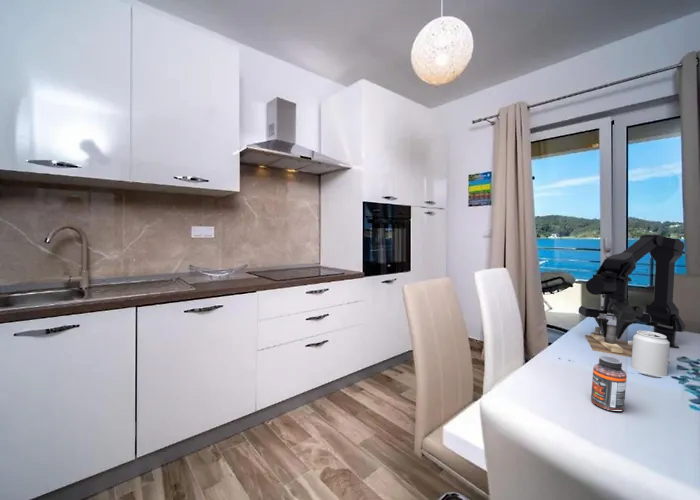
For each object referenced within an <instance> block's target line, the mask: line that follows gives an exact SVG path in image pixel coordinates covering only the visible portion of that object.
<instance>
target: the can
mask: <svg viewBox="0 0 700 500" xmlns="http://www.w3.org/2000/svg"><path fill="white" fill-rule="evenodd" d="M666 338H667V337H666V336H665V335H662V334H659V333H655V332H654V331H648V330H637V331H636V333H635V334H633V337H632V340H633V347H632V357H631V362H630V366H631V369H633V370H636V371H638V374H639V375H641V376H645V377H647V378H653V379H662V378H663V377H666V376H668V370H669V368H668V367H669V364H668V361H669V359H670V358H669V357H670V347H669V345H670V343H669V341H668V340H667V339H666Z"/></svg>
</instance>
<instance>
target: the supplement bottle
mask: <svg viewBox="0 0 700 500" xmlns="http://www.w3.org/2000/svg"><path fill="white" fill-rule="evenodd" d="M622 367H623V362H622V361H621V360H620V359H619V358H616V357H612V356H608V355H607V356H606V355H602V356H601V355H600V356H599V358H598V363H597V364H594V366H593V369H592V380H591V381H592V383H591V393H590V400H591V402H592V403H593V404H594V405H595V404H596V405H597V406H596V405H595V406H596V407H598V406H600V407H602V408H605V409H609V410H623V409H624V410H625V402H626V401H625V400H626V388H627V377H628V376H627V373H626V371H625V370H623V368H622ZM600 407H599V408H600ZM602 408H601V409H602ZM624 410H623V411H624Z"/></svg>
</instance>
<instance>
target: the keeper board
mask: <svg viewBox="0 0 700 500" xmlns="http://www.w3.org/2000/svg"><path fill="white" fill-rule="evenodd" d="M584 336H585V338H586V340H587V342H588V344H589V347H590V348H591V350H592V351H594V352H599V353H600V352H601V353H604V354H605V353H606V354H611V355H616V356H623V357H628V358H632V347H633V339H632V340H628V341H626V340H621V339H616V344H617V345H618V346H620V347H621V348H623V353H617V352H611V351H610V350H609V349H607V348H606V347H605V346H603V345H602V344H601V343H600V342H598V341H597V340H596V339H594V338H592V337H591V335H589V334H584ZM671 364H672V363H671V362H670V361H669V360H668V365H671Z"/></svg>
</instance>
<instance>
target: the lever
mask: <svg viewBox="0 0 700 500" xmlns="http://www.w3.org/2000/svg"><path fill="white" fill-rule="evenodd" d="M616 330H617V326H616V325H614V324H608V323H607V334H606V338H605V337H603V335H602V333H601V330H600V328H599V326H595V328H594V331H591V332H590V336H591V337H592V338H594V339H596V340H597V341H598V342H600V343H601V344H602V345H603V346H605V347H606V348H607V349H609V350H610V351H611V352H617V353H623V348H621V347H620V346H618V345H617V344H616V340H617V338H616Z"/></svg>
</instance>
